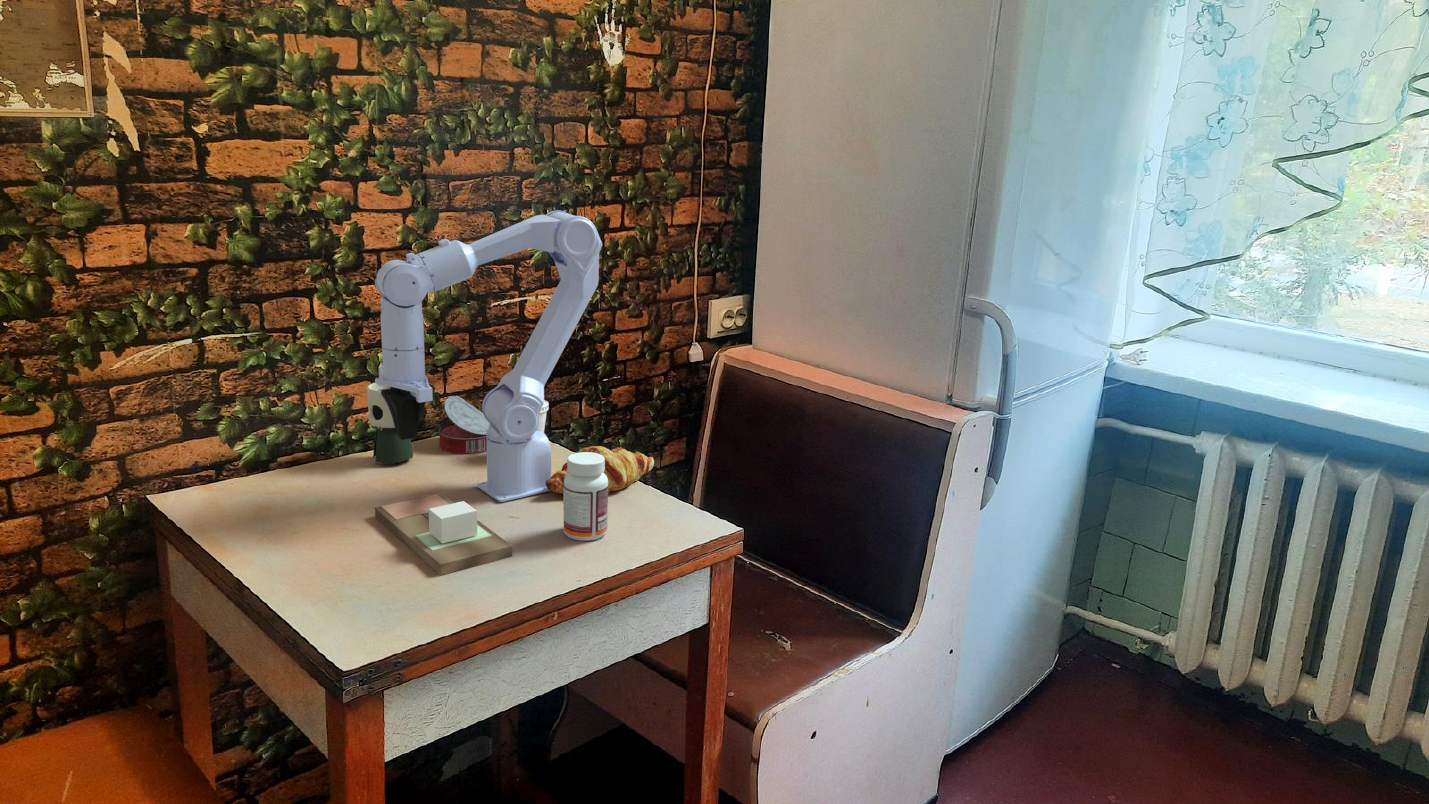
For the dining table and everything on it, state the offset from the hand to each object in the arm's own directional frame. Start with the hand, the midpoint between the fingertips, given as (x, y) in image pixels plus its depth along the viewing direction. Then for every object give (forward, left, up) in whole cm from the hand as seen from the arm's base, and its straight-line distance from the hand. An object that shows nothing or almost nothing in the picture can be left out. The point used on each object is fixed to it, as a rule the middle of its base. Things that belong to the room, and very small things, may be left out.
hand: (406, 437), depth 138 cm
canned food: (-19, -20, -11) cm, 30 cm away
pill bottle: (-16, +23, -11) cm, 30 cm away
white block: (+1, +17, -9) cm, 19 cm away
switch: (+1, +13, -10) cm, 17 cm away
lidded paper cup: (-25, -9, -11) cm, 29 cm away
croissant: (-29, +9, -11) cm, 32 cm away
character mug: (-5, -19, -11) cm, 22 cm away
